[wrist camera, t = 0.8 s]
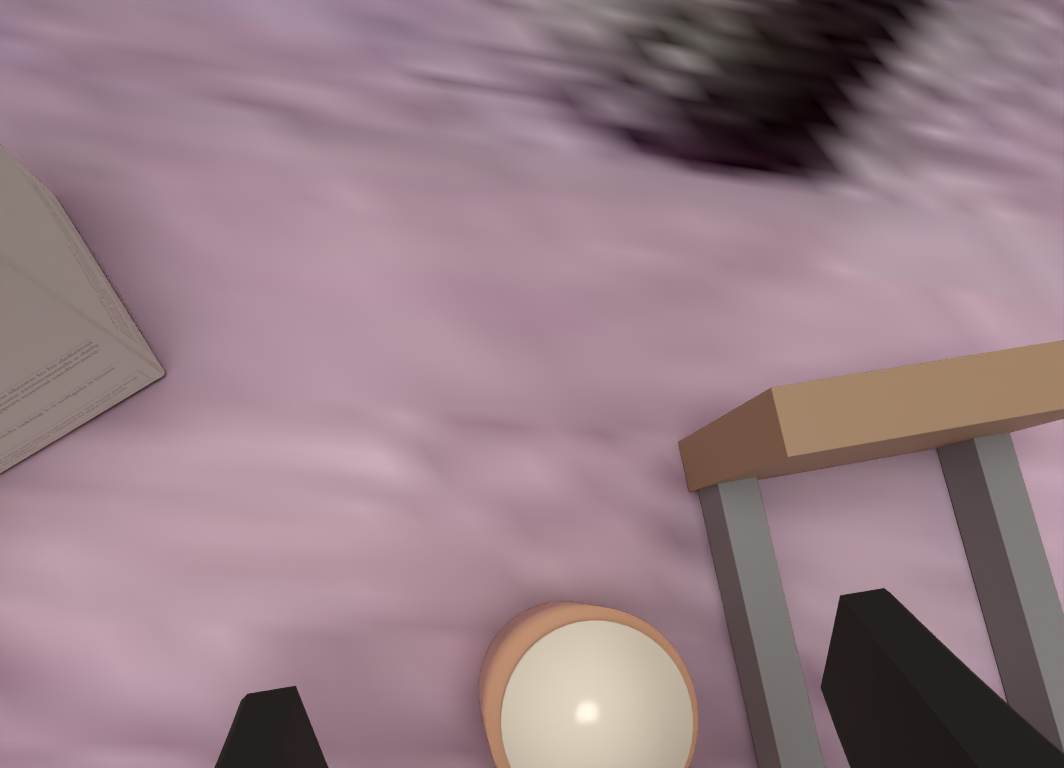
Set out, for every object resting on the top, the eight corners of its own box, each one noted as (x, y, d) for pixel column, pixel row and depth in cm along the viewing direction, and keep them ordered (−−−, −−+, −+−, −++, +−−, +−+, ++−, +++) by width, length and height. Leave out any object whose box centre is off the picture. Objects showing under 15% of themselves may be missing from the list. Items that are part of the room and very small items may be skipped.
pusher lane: (1112, 901, 25) (1406, 1044, 18) (795, 984, 24) (963, 1178, 16) (964, 393, 28) (1159, 324, 21) (678, 442, 27) (771, 387, 19)
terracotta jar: (661, 759, 25) (727, 814, 19) (494, 796, 24) (508, 864, 19) (627, 586, 26) (680, 589, 20) (465, 618, 25) (471, 629, 20)
